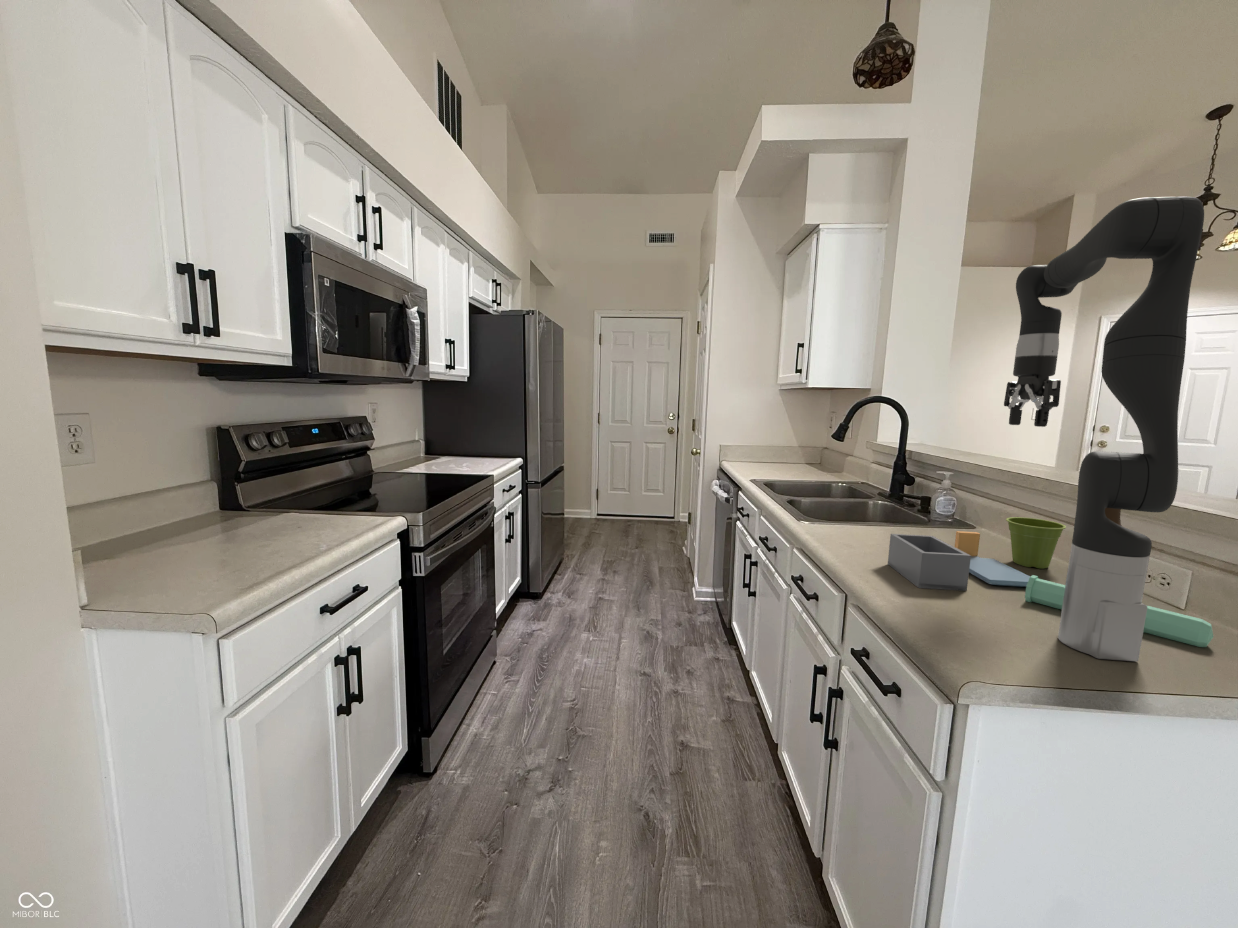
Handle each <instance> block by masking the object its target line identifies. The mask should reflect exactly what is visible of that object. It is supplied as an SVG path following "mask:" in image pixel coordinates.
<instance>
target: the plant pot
mask: <svg viewBox="0 0 1238 928" xmlns="http://www.w3.org/2000/svg"><path fill="white" fill-rule="evenodd" d="M1005 521H1006V522H1007V523H1008V530H1009V534H1010V544H1011V547H1010V548H1011V557H1012V561H1013V562H1014V563H1015V564H1016V565H1019V566H1023V567H1026V568H1031V567H1033V568H1035V569H1039V570H1040V569H1041V570H1042V569H1047V568H1049V567H1050V565H1051V561H1052V559H1053V555H1054V553H1055V550H1056V547H1057V544H1058V541H1059V538H1060V537H1061V536H1062V533H1063V531H1064V530H1065V529H1066V528H1067V526H1066V525H1065V524H1063V523H1060V522H1057V521H1052V520H1046V519H1041V518H1033V517H1019V516H1017V517H1016V516H1013V517H1007V518H1005Z"/></svg>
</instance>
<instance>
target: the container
mask: <svg viewBox="0 0 1238 928" xmlns="http://www.w3.org/2000/svg"><path fill="white" fill-rule="evenodd" d="M1065 585H1066V584H1063V583H1057V582H1054V581H1049V580H1045V579H1042V578H1039V576H1038V575H1034V574H1031V576H1030V578H1029V581H1028V583H1027V586H1026V587H1025V593H1024V599H1025V602H1027V603H1032V602H1033V603H1036V604H1041V605H1044V606H1046V607H1047V606H1048V607H1051V608H1055V609H1057V610H1061V611H1062V605H1063V598H1064V591H1065ZM1143 633H1144V634H1145V633H1146V634H1149V635H1153V636H1157V637H1161V638H1164V639H1168V640H1171V641H1176V642H1178V643H1179V642H1180V643H1184V644H1187V645H1190V646H1194V647H1198V648H1199V647H1200V648H1207V647H1208V645H1209V644H1210V642H1211V641H1212V639H1213V638H1215V636H1214V631H1213V626H1212V623H1210V622H1208V621H1206V620H1204V619H1202V618H1199V617H1195V616H1191V615H1186V614H1182V613H1180V612H1179V613H1178V612H1176V611H1175V612H1174V611H1171V610H1168V609H1162V608H1159V607H1154V606H1151V605H1147V613H1146V619H1145V625H1144V630H1143Z"/></svg>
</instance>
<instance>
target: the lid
mask: <svg viewBox="0 0 1238 928" xmlns="http://www.w3.org/2000/svg"><path fill="white" fill-rule="evenodd" d="M980 538H981V533H980V532H978V531H977V532H976V531H959V530H957V531H955V541H954V547H955V548H957V549H959V550H961V551H963V552H965V553H967V554H969V555H971V560H970V568H969V574H971V575H972V576H975V577H977V578H978V579H980V580H982V581H984V582H985V583H987V584H989V585H991V586H992V585H993V586H1004V587H1005V586H1007V587H1022V588H1023V587H1024V588H1026V586H1027V583H1028V581H1029V578H1030V577H1031V576H1030V575H1028V574H1025V573H1024V572H1022V571H1020V570H1018V569H1015V567H1014V568H1013V567H1011V566H1009V565H1008V564H1005V563H1003V562H1001V561H1000V560H997V559H995V558H990V557H989V558H988V557H980V556H979V555H978V554H979V548H980V547H979V546H980V540H981V539H980Z"/></svg>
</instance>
